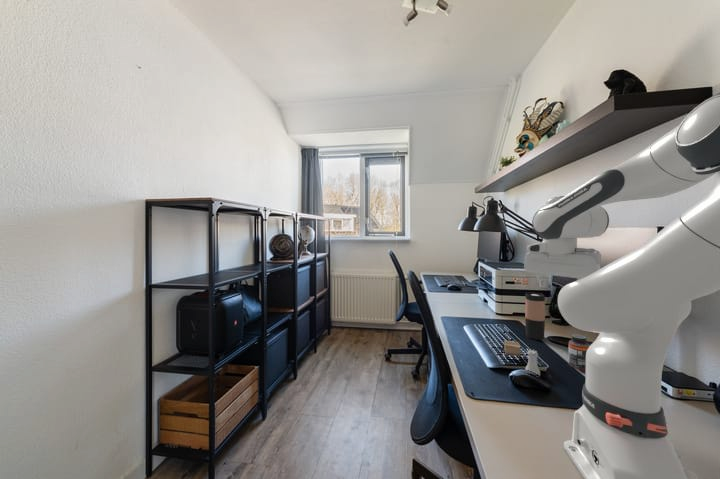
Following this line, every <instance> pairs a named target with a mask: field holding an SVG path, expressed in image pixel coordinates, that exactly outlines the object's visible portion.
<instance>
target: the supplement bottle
mask: <svg viewBox="0 0 720 479" xmlns="http://www.w3.org/2000/svg"><path fill="white" fill-rule="evenodd" d="M590 345H591V344H589V343H588V342H587V337H586V336H584V335H582V334H577V333H576V334H572V335H571V339H570V340H569V341H568V365H569V366H570V367H571V368H573V369H576V370H578V371H582V372H586V352H587V349H588V348H589V346H590Z"/></svg>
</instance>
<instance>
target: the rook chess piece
mask: <svg viewBox="0 0 720 479" xmlns="http://www.w3.org/2000/svg"><path fill="white" fill-rule="evenodd" d="M526 354H527V355H528V356H527V359H528V362H527V365H526V366H525V368H524V369H525V370H529V371H532V372H534V373H536V374H538V375H539V376H538V377H540V376H541V370H540V368H539V366H538V356H539V354H538V351H537V350H535V349H528V350H527V352H526Z"/></svg>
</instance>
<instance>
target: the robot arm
mask: <svg viewBox="0 0 720 479" xmlns="http://www.w3.org/2000/svg"><path fill="white" fill-rule="evenodd" d="M714 175H715V183H714V186H713V187H712V189H711V190H709V192H708V193H707V194H706V195H705V196H703V198H701V199H700V200H699V201H697V202H696V203H695V204H693V205H692V206H690V207H689V208H687V209H686V210H685V211H684V212H683V213H681V214H680V215H679V216H678V217H676V218H675V219H673V220H672V221H671V222H670V223H669V224H667V225H666V226H665V227H663V228H662V229H661V230H659V232H657V233H655V234H654V235H653V236H652V237H651V238H648V240H647V241H646V242H644V243H643V244H641V245H640V246H639V247H637V248H636V249H634V250H631V251H630V252H629V253H627V254H625V255H623V256H621V257H619V258H617V259H616V260H614V261H611V262H609V263H608V264H606V265H605V266H602V267H601V264H600V263H601V261H602V254H601V251H599V250H597V249H595V248H583V247H578V239H585V238H586V239H587V238H588V239H590V238H594V237H600V236H601V235H603V234H604V233H605V232H606V231H607V229H608V228H609V225H610V217H609V214H608V212H607V210H606V209H605V208H604V207H602V206H606V205H610V204H613V203H619V202H628V201H637V200H649V199H650V200H651V199H657V198H658V199H659V198H663V197H668V196H671V195H673V194H676V193H679V192H682V191H684V190H687V189H689V188H691V187H694V186H695V185H698V184H699V183H701V182H703V181H705V180H707V179H709V178H710V177H713V176H714ZM531 223H532V228H533V229H534V230H533V231H535V233H536V234H537V235H538V236H539V237H541V238H542V241H541V242H537V243H534V244H530V245H527V246H526V251H527V252H526V254H525V256H524V264H523V268H524V271H525V272H526V273H529V274H530V273H531V274H535V278H536V279H537V281H538V286H539V288H543V289H544V288H547V281H544V279H543V276H544V275H547V276H556V277H565V278H572V279H573V278H574V279H576V280H575V281H572V282H570V283H567V284H566V285H564V286H562V287H561V289H560V291H559V293H558V294H557V307H558V310H559V313H560V314H561V316H562V317H563V319H564V320H565V321H566V322H567V323H568V324H569V325H570V326H572V327H573V328H576V329H577V330H579V331H583V332H584V331H585V332H591V333H594V334H595V333H596V334H598V336H597V337H596V339H595V340H594V341H593V342H592V343H591V344H589V345H590V346H589V348H588V349H587V352H586V371H585V383H584V384H583V385H582V391H581V395H582V403H583V404H582V406H581V407H579V408H578V409H576V410H575V411H574V413H573V421H572V422H573V423H572V434H571V435H572V436H571V439H569V440H568V439H567V440H565V441H564V442H563V449H564V450H565V452H566V453H567V455H568V457H569V458H570V460H571V461H572V462H573V464H574V465H575V467H576V468H577V470H578V472H579V473H580V474H581V476H582V477H583V479H699V478H698V476H697V474H696V473H695V472H694V471H690V470H688V469H684V467H683V465H682V463H681V460H680V459H682V453H681V451H680V449H677V448H675V447H674V445H673V443H672V441H671V438H670V436H669V435H668V434H669V431H668V426H667V424H668V423H667V418H666V415H665V412H664V408H663V406H662V403H661V402H662V400H661V399H662V375H663V368H664V365H665V360H666V357H667V355H668V351H669V349H670V347H671V344H672V342H673V340H674V337H675V334H676V332H677V330H678V328H679V326H680V325H681V324H682V322H683V321H685V319H686V318H687V317H689V315H690V314H691V311H692V301H695V300H697V299H699V298H702V297H705V296H709V295H712V294H714V293H716V292H717V291H720V92H718V93H716V94H714V95H712V96H711V97H709V98H707V99H705V100H704V101H702V102H701V103H700V104H698V105H697V106H696V107H694V108H693V109H692V110H691V111H690V112H689V113H688V114H687V115H686V116H685V117H684V118H683V120H682V121H681V122H680V124H679V125H678V126H677V125H676V127H673V129H671V130H670V131H668V132H667V133H665V134H664V135H662V136H661V137H660V138H658V139H657V140H655V141H654V142H652V143H651V144H649V145H648V146H647V147H645V148H644V149H643V150H641V151H640V152H638V153H637V154H635V155H633V156H632V157H630V158H628V159H626V160H625V161H623V162H622V163H620V164H618V165H616V166H614V167H612V168H610V169H609V170H606V171H604V172H602V173H600V174H599V175H596V176H595V177H593V178H591V179H589V180H588V181H586V182H584V183H583V184H581V185H580V186H578V187H577V188H575V189H574V190H571V192H569V193H568V194H566V195H561V196H555V197H552V198H549V199H548V200H547V201H545V205H542V206H541V207H540V208H539V209H538V210H537V211H536V212H535V213H534V215H533V217H532V222H531Z"/></svg>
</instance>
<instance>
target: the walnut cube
mask: <svg viewBox="0 0 720 479" xmlns="http://www.w3.org/2000/svg"><path fill="white" fill-rule="evenodd" d="M503 342H504V343H503V344H504V345H503V346H504V348H503V351H504V350H505V354H510V355H516V356H521V354H522V353H521V351H522V350H521V348H522V347H521V345H520V344H521V343H520V342H518V341H512V340H503Z"/></svg>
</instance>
